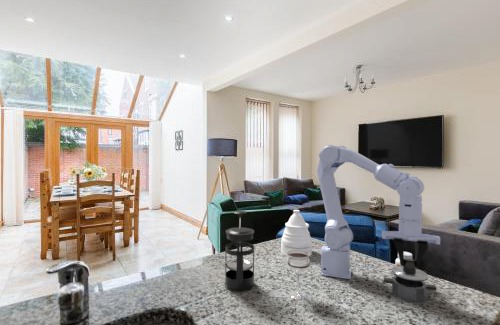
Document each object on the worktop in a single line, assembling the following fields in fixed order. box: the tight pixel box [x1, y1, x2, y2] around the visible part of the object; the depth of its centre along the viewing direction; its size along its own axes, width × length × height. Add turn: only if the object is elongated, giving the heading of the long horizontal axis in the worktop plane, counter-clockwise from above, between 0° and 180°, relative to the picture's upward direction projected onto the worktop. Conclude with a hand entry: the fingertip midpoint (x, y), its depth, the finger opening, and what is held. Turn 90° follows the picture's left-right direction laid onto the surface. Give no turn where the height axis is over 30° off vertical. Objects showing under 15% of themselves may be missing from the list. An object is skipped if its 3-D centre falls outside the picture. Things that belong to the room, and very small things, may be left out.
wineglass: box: [286, 250, 311, 300], centre depth 80 cm, size 7×7×12 cm
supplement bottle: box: [394, 251, 413, 267], centre depth 87 cm, size 5×5×10 cm
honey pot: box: [280, 209, 313, 257], centre depth 116 cm, size 13×13×18 cm
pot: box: [383, 275, 437, 304], centre depth 80 cm, size 13×9×4 cm, turn 69°
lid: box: [391, 258, 429, 282], centre depth 80 cm, size 9×9×4 cm
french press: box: [224, 210, 255, 293], centre depth 85 cm, size 12×9×23 cm
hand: (409, 265), depth 80 cm, fingers closed on lid, 3 cm apart
